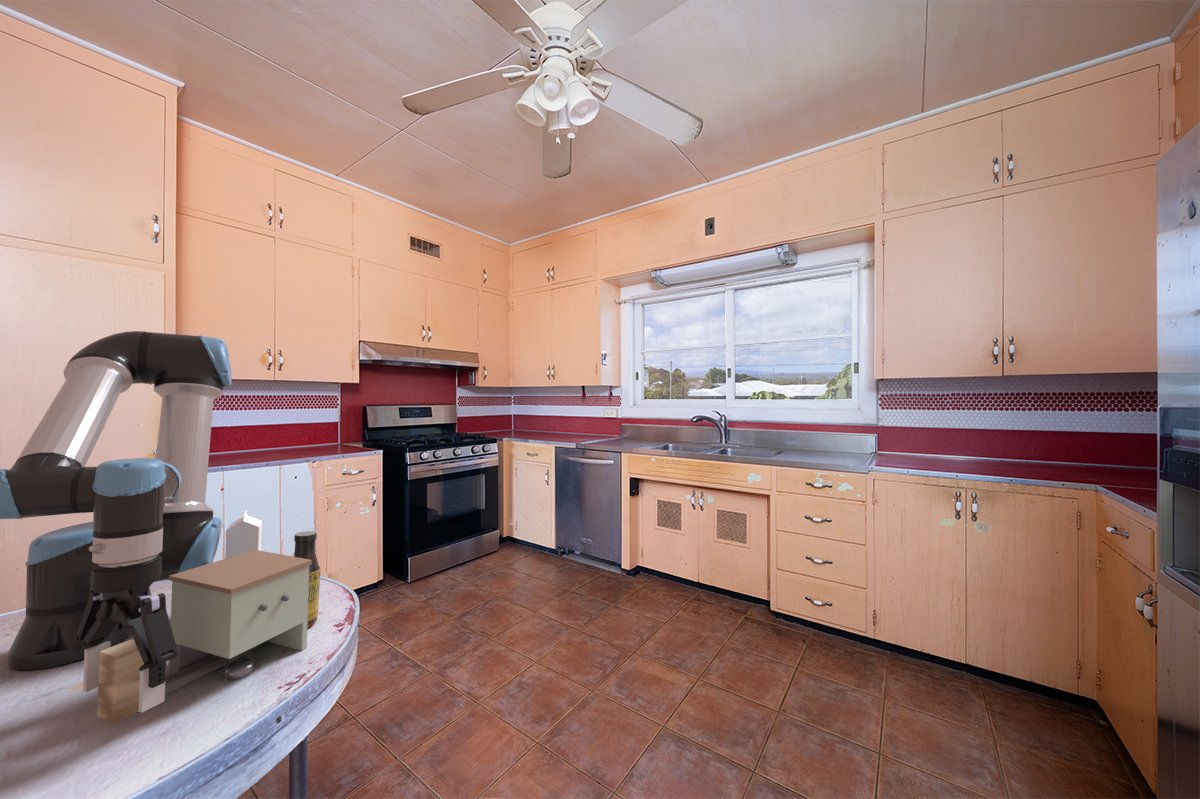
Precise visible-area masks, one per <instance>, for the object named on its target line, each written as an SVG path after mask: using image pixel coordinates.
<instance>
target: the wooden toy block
mask: <svg viewBox="0 0 1200 799" xmlns="http://www.w3.org/2000/svg"><path fill="white" fill-rule="evenodd" d="M256 649H257V646H255V647H253V648H251V649H249V650H247V651H245V652H243V653H241V654H239V655H237V656H235V657H233V658H231V659H227V658H224V657H221V656H217V655H212V656H210V657H208V658H206V659H204V660H201V661H199V662H197V663H195V664H193V665H191V666H189V667H187V668H185V669H183V670H180V671H178V672H176V673H174V674H170V675H168V676H165V695H168V694H170V693H171V692H173V691H176V690H178V689H180V688H181V687H184V686H185V685H187V684H189V683H191V682H193V681H195V680H197V679H199V678H201V677H203V676H205V675H207V674H209V673H211V672H214V671H215V670H217V669H219V668H221V667H222V666H225V665H228V664H230V663H232V662H234V661H236V660H238V659H239V658H241V657H243V656H245V655H247V654H249V653H250V652H253V651H255V650H256ZM143 665H144V662H143V660H142V658H141V655H140V653H139V651H138V648H137V646H136V644H135V641H134V639H133V638H131V639H129V640H126V641H123V642H121V643H120V644H118V645H115V646H113V647H110V648H107V649H105V650H102V651H100V652H99V681H98V687H97V713H96V715H97V716H96V717H97V718H98V719H101V720H103V721H106V722H108V723H110V724H116V723H118V722H120V721H121V720H124V719H126V718H127V717H130V716H132V715H133V714H136V713H137V712H139V684H140V670H139V668H140V667H141V666H143Z"/></svg>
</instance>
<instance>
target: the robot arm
mask: <svg viewBox="0 0 1200 799" xmlns="http://www.w3.org/2000/svg"><path fill="white" fill-rule="evenodd" d="M63 377H64V380H65V381H64V383H63V384H62V385H61V387H60V389H59V391H58V393H56V395H55V397H54V398H53V400H52V402H51V404H50V405H49V407H48V408H47V410H46V412H45V414H44V415H43V417H42V418H41V420H40V421H39V423H38V425H37V427H36V428H35V430H34V431H33V432H32V435H31V436H30V437H29V440H28V441H27V442H26V444H25V446H24V447H23V449H22V450H21V453H20V454H19V455H18V456H17V459H16V460H15V461H14V463H13V465H12V467H11V468H10V469H6V468H1V469H0V520H13V519H14V520H15V519H16V520H22V519H23V518H24V519H27V518H35V517H46V516H48V517H49V516H59V515H60V516H61V515H71V514H87V513H89V514H90V513H93V519H92V520H93V521H88V522H83V523H78V524H74V525H73V524H72V525H70V526H66V527H61V528H58V529H54V530H52V531H49V532H45V533H43V534H41V535H39V536H37V537H36V538H34V539H33V540H32V541H31V542H30V544H29V547H28V553H27V561H26V562H25V566H26V589H25V590H26V591H25V595H26V596H25V617H24V620H23V622H22V624H21V625H20V628H19V629H18V632H17V634H16V636H15V638H14V640H13V642H12V644H11V647H10V648H9V650H8V655H7V656H8V658H7V666H8V667H9V668H10V669H12V670H17V671H33V670H42V669H47V668H48V669H49V668H54V667H58V666H59V667H60V666H63V665H68V664H71V663H75V662H79V661H81V660H83V661H84V662H83V683H82V686H83V687H82V689H83V690H82V691H83V692H84V693H87V692H90V691H92V690H95V689H96V688H97V689H98V681H99V652H100V651H102V650H105V649H107V648H110V647H113V646H115V645H118V644H120V643H123V642H125V640H127V639H128V638H129V637H130V635H131V636H132V639H134V641H135V644H136V646H137V648H138V651H139V653H140V655H141V658H142V660H143V662H144V665H143V666H141V667H140V668H139V670H140V684H139V711H138V713H144V712H147V710H150V709H152V708H154V707H155V706H157V705H160V704H162V703H164V702H165V700H166V698H165V678H166V668H167V667H166V665H167V662H169V660H171V659H173V658H176V657H177V656H178V651H177V647H176V643H175V640H174V636H173V632H172V629H171V620H170V617H169V614H168V612H167V602H166V601H167V600H166V594H165V592H164V593H163V592H162V593H158V594H156V595H152V594H151V589H150V587H151V585H152V584H154V583H156V582H157V583H158V582H163V581H164V582H165V581H170V580H169V576H170V575H173V574H177V573H180V572H183V571H187V570H190V569H193V568H197V567H200V566H203V565H207V564H210V563H213V562H214V559H215V557H216V553H217V551H218V550H217V549H218V546H219V542H220V539H221V533H222V532H221V531H222V519H221V518H220V517H214V509H213V508H212V507H211V506H209V505H207V503H206V497H207V482H208V472H209V458H210V448H211V447H210V446H211V435H212V433H211V432H212V421H213V410H214V401H215V400H216V399H218V398H220V397H221V396H222V395H223V390H224V388H228V387H231V386H232V380H233V378H232V367H231V362H230V355H229V350H228V346H227V343H226V342H225V341H224V340H222V339H221V338H217V337H211V336H210V337H209V336H204V335H190V334H175V333H163V332H151V331H143V330H141V331H140V330H132V331H130V330H129V331H124V332H118V333H114V334H111V335H108V336H105V337H102V338H100V339H97V340H96V341H93V342H91V343H89V344H88V345H85V347H83V348H82V349H79V351H78V352H76V353H75V354H74V355H72V357H71V358H70V359H69V361H68V362H67V364H66V365H65V367H64V369H63ZM136 384H145V385H146V384H148V385H153V391H154V392H155V393H156V395H158V396H160V397H161V398H162V399H161V407H160V416H159V417H160V418H159V426H158V436H157V444H156V452H155V458H154V457H153V458H152V457H135V458H122V459H120V458H119V459H114V460H107V461H103V462H100V463H99V464H98V465H97V466H86V465H87V463H88V461H89V459H90V457H91V455H92V453H93V451H94V449H95V446H96V444H97V442H98V440H99V438H100V436H101V434H102V433H103V429H104V428H105V427H106V426H105V425H106V424H107V421H108V420H109V417H110V415H111V413H112V411H113V409H114V407H115V404H116V403H117V401H118V399H119V397H120V395H121V394H122V393H124V392H126V391H128V390H129V389H130V388H131V386H132V385H136Z"/></svg>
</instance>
